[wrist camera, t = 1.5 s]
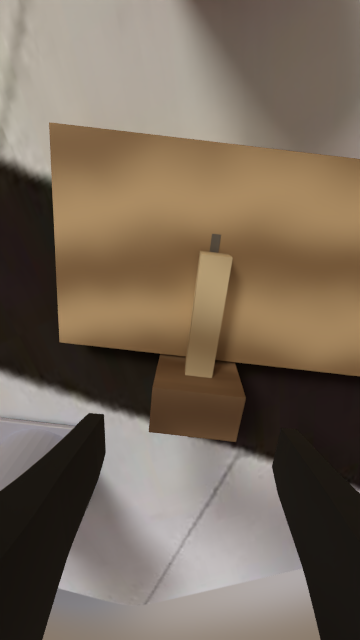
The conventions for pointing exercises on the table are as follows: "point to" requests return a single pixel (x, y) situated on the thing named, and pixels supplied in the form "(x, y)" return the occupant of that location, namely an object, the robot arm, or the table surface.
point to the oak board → (206, 246)
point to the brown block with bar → (200, 367)
